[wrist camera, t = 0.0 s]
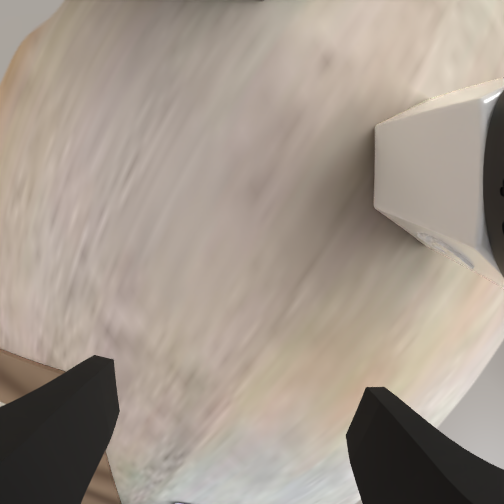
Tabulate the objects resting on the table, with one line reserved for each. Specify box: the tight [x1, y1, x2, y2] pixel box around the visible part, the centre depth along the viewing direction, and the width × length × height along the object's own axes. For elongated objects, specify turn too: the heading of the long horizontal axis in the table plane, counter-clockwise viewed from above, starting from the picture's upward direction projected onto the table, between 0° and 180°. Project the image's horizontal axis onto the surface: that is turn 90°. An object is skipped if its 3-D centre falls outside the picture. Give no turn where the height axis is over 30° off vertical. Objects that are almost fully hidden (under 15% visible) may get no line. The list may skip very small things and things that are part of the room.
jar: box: [373, 77, 504, 289], centre depth 11 cm, size 9×8×12 cm
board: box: [0, 349, 121, 504], centre depth 22 cm, size 22×16×1 cm
